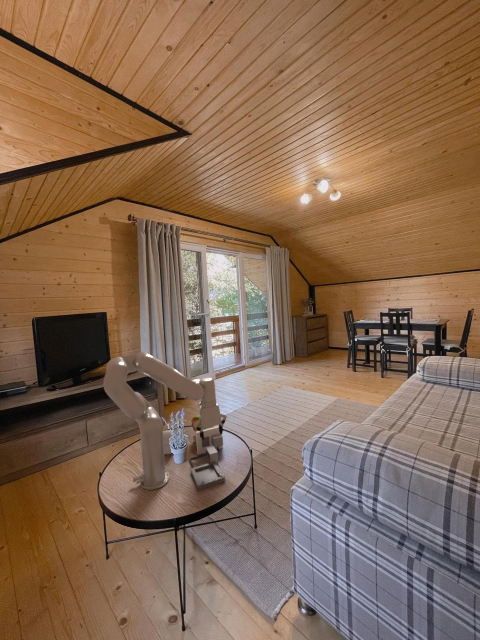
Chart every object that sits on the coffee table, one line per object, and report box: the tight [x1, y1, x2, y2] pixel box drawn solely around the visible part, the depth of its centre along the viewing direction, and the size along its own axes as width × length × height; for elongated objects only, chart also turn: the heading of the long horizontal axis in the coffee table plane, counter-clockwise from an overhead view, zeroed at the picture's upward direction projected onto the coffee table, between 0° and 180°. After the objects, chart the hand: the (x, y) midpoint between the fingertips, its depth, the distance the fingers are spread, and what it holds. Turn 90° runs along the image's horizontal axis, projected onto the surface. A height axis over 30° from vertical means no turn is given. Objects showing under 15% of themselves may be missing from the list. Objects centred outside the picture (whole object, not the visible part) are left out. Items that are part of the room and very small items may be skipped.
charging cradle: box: [190, 461, 226, 491], centre depth 124 cm, size 12×14×2 cm
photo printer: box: [163, 430, 172, 456], centre depth 146 cm, size 10×4×12 cm, turn 98°
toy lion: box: [191, 414, 211, 443], centre depth 155 cm, size 16×5×15 cm, turn 50°
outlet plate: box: [195, 425, 224, 456], centre depth 144 cm, size 14×6×12 cm, turn 114°
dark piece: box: [188, 447, 220, 468], centre depth 137 cm, size 16×11×4 cm
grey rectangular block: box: [205, 446, 219, 465], centre depth 136 cm, size 4×7×6 cm, turn 24°
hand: (211, 435), depth 136 cm, fingers open, 9 cm apart
